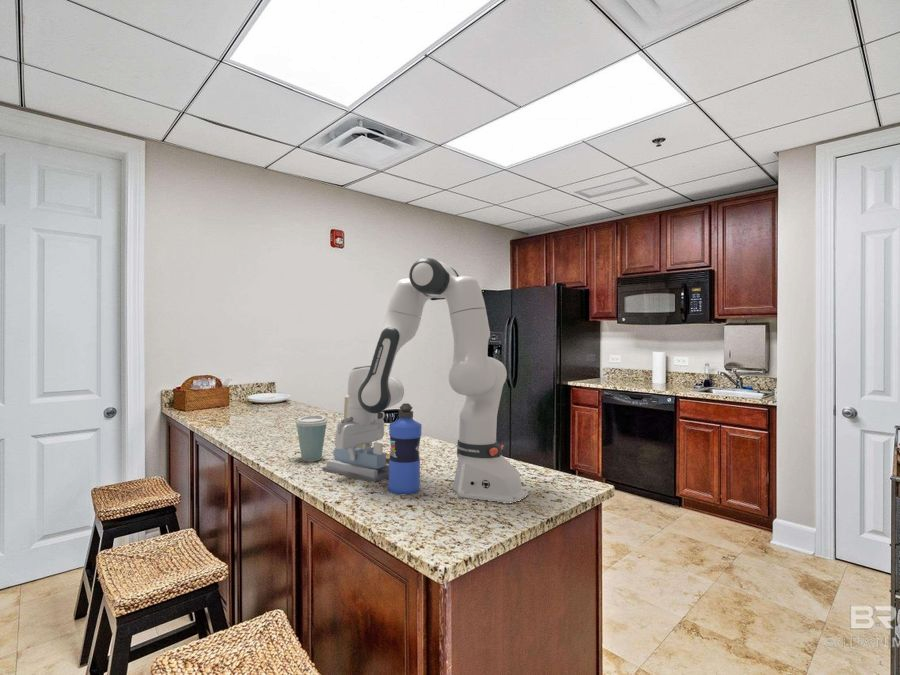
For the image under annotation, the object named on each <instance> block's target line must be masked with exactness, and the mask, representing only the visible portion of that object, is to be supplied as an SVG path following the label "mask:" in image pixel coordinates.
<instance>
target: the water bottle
mask: <svg viewBox="0 0 900 675" xmlns="http://www.w3.org/2000/svg"><path fill="white" fill-rule="evenodd" d="M399 409H400V410H399V411H398V417H399V418H398V419H396V420H395V421H393V422H391V423H389V429H388V430H389V431H388V432H389V433H388V434H389V441H390V453H389V454H390V458H389V477H388V484H387V486H388V487H387V490H388V492H389V491H390V492H389V493H391V492H392V494H394V493H395V495H400V494H407V495H412V493H413V494H416V493H418V492H419V491H420V484H421V482H420V480H421V478H420V477H421V476H420V475H421V457H420V445H421V437H422V428H423V427H422V423H420V422H418V421H417V420H414V411H413V406H412V405H411V404H410V403H407V402H406V403H402V404H401V405H400V406H399Z"/></svg>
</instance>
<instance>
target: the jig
mask: <svg viewBox="0 0 900 675" xmlns="http://www.w3.org/2000/svg"><path fill="white" fill-rule="evenodd" d="M324 470H325V472H328V471H330V472H329V473H332V472H334V473H333V474H336V473H338V474H337V475H341V474H342V475H341V476H345V475H346V476H345V477H350V478H353V477H354V478H355V479H359V480H362V481H368V482H370V483H377V482H379V481H381V480H385V479H386V478H389V464H386V466H384V467H381V468H378V469H374V468H369V467H364V466H360V465H355V464H350V463H346V462H341V461H336V460H332V459H329V460H327V461H326V466H322V471H324Z"/></svg>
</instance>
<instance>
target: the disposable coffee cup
mask: <svg viewBox="0 0 900 675" xmlns="http://www.w3.org/2000/svg"><path fill="white" fill-rule="evenodd" d="M327 424H328V420H327V419H326V417H325V415H318V414H315V415H313V414H312V415H306V416H302V417H299V418H298V419H297V421H296V422H295V425H296V430H297V436H298V442H299V449H300V450H299V451H300V456H301V459H302V461H303V462H308V463H309V462H310V463H311V462H312V463H313V462H317V461H320V460H321V458H322V457H323V450H324V443H325V442H324V441H325V438H326V432H327V431H326V429H327Z"/></svg>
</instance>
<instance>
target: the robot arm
mask: <svg viewBox="0 0 900 675" xmlns="http://www.w3.org/2000/svg"><path fill="white" fill-rule="evenodd" d="M408 277H409V278H408ZM408 277H407V278H401V279H399V280H398V281H397V282H396V283H395V285H394V287H393V289H392V291H391V292H392V293H391V296H390V299H389V302H388V305H387V310H386V314H385V319H384V323H383V326H382V330H381V333H380V336H379V339H378V341H377V344H376V347H375V351H374V353H373V355H372V356H373V357H372V360H371V363H370V365H363V366H358V367H357V366H356V367H354V368H352V369H351V370H350V372H349V375H348V382H347V396H349V402H348V405H347V419H344V418H342V419H341V420H340V421H339V422H338V423H337V425H336V426H337V428H336V431H335V437H334V448H337V449H342V450H345V449H348V452H349V454H350V460H353V461H354V460H357V454H355V451H354V450H355V447H356V446H359V445H363V444H365V449H368V448H372V447H373V443H374V442H376V441H380V440H382V439H384V435H385V421H384V419H385V412H384V411H385V410H386V409H388V408H391V407H393V406H396V405H397V404H400V402H401V401H402V400H403V398H404V395H405V389H404V386H403V384H402V382H401V381H400V380H399V379H398V378H395V377H392V376H391V374H392V373H391V372H392V370H393V365H394V363H395V360H396V357H397V355H398V352H399V351H400V349H401V348H403V346H405V345H406V344H407V343H408V342H410V341H412V339H413V338H415V336H416V335H417V332H418V330H419V327H420V325H421V324H420V323H421V322H422V321H421V320H422V316H423V311H424V307H425V305H426V303H427V301H429V300H430V301H438V300H445V301H446V302H447V306H448V311H449V317H450V318H449V319H450V324H451V330H452V338H453V358H452V364H451V365H452V366H451V368H450V370H449V372H448V382H449V385H450V387H451V389H452V390H453V391H454V392H455V393H456V394H458V395H462V396H465V401H464V404H463V407H462V408H461V411H460V413H459V423H458V424H459V426H458V427H459V428H458V429H459V430H458V439H457V441H456V442H457V445H456V446H457V447H456V456H457V464H456V471H455V475H454V480H453V483H452V486H451V488H452V490H453V491H454V492H456V494H457V496H458V497H460V498H465V499H473V500H478V499H479V501H485V500H488V502H492V501H497V502H496V503H499V502H505V503H504V504H506V503H510V502H511V503H512V502H515V501H518V500H520V499H522V498H524V497H525V496H526V495H527V494H528V492H529V488H528V487H526V486H522V480H521V474H520V472H519V470H518V469H517V468H516V467H515V466H514V465H512V463H511V462H509V460H507V459H506V458H505V457H504V456H503V455H502V450H503V449H504V446H505V445H504V444H502V445H500V443H499V442H498V441H497V426H498V425H497V420H498V412H499V411H498V410H499V407H500V402H501V396H502V394H503V393H502V392H503V387H504V384H505V382H506V380H507V376H508V373H507V368H506V367H505V364H504V363H503V362H502V361H500V360H498V359H497V358H494V357H491V356H488V355H489V354H488V353H489V352H488V349H489V340H490V337H491V330H490V325H489V318H488V314H487V308H486V304H485V299H484V296H483V293H482V290H481V288H480V284H479V282H478V281H477V279H476V278H474V277H473V276H471V275H470V276H469V275H459V273H458V271H456V269H454V268H453V267H450V266H449V265H447V263H445V262H442V261H440V260H437V259H434V258H431V257H423V258H420V259H418V260H415V262H414V263H413V264H412V265H411V267H410V269H409V276H408ZM528 495H529V494H528ZM512 504H513V503H512Z"/></svg>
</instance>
